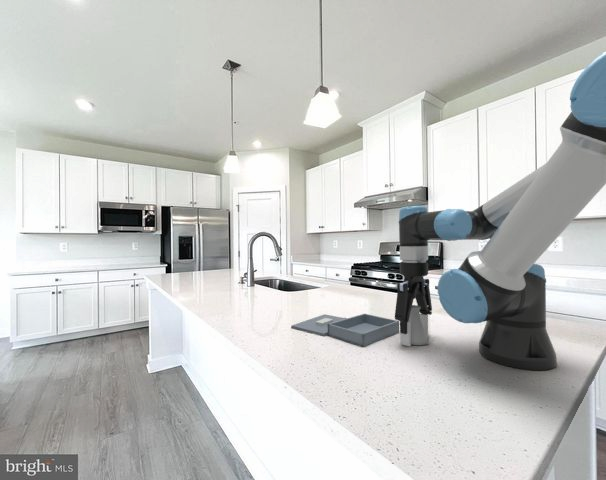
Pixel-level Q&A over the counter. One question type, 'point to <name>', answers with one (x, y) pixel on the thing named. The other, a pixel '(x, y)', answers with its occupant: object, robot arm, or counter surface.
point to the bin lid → (317, 324)
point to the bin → (363, 329)
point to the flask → (417, 327)
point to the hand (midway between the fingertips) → (414, 340)
